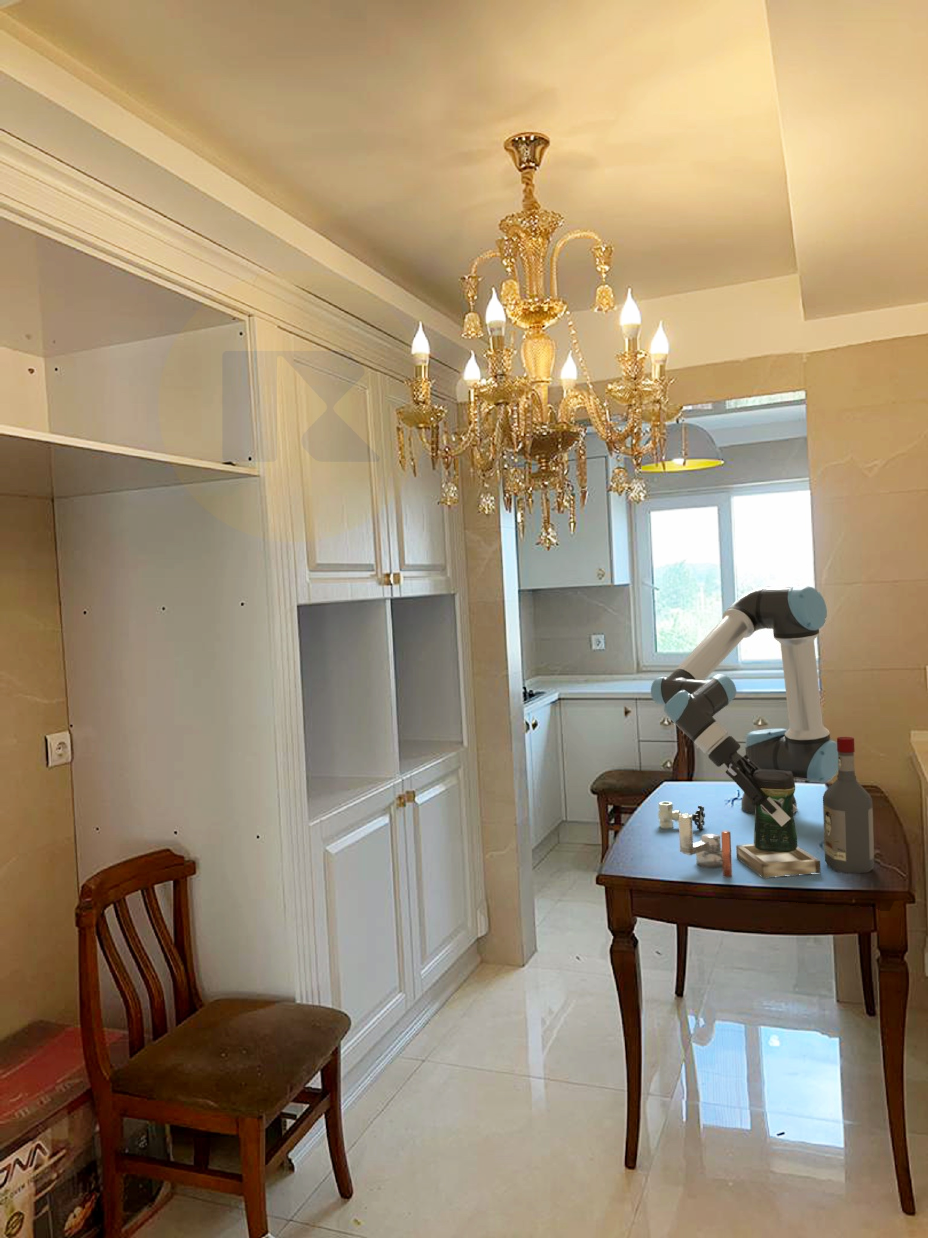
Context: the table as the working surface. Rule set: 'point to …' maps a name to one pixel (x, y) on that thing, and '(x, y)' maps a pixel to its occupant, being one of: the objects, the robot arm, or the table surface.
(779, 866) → the tray
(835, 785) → the liquor
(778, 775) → the coffee jar
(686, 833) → the crank
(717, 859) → the crank base
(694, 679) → the robot arm
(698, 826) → the valve
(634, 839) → the table surface
